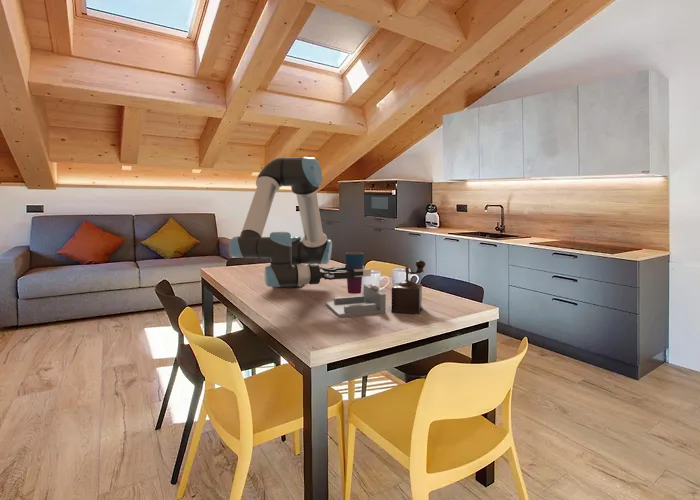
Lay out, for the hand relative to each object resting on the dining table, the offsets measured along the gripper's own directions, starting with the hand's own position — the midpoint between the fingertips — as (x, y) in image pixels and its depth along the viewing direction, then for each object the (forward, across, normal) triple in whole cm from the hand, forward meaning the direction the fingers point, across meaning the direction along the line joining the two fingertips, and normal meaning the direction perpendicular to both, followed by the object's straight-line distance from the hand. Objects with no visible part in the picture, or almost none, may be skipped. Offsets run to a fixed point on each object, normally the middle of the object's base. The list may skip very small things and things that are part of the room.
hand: (367, 270), depth 160 cm
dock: (-5, 0, -14) cm, 15 cm away
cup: (-5, 0, -8) cm, 10 cm away
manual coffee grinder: (+15, +6, -15) cm, 22 cm away
